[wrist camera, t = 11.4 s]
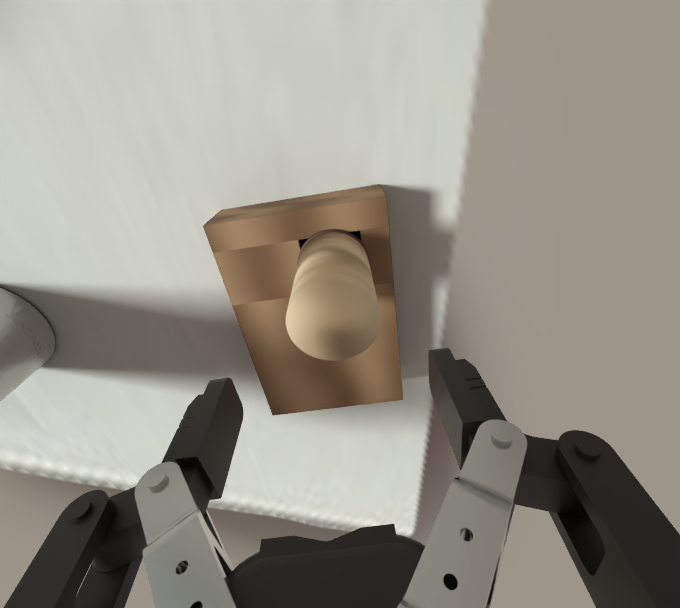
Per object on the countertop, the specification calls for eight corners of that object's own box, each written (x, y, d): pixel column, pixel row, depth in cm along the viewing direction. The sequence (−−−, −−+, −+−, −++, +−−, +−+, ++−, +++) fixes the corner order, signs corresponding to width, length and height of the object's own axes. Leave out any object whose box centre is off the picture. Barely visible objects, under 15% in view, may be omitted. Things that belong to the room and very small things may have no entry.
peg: (309, 279, 28) (295, 367, 18) (295, 220, 25) (272, 286, 16) (368, 270, 27) (387, 355, 18) (361, 209, 25) (378, 271, 15)
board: (278, 384, 34) (272, 415, 31) (221, 210, 25) (203, 225, 22) (395, 369, 33) (402, 399, 30) (378, 184, 24) (386, 196, 21)
